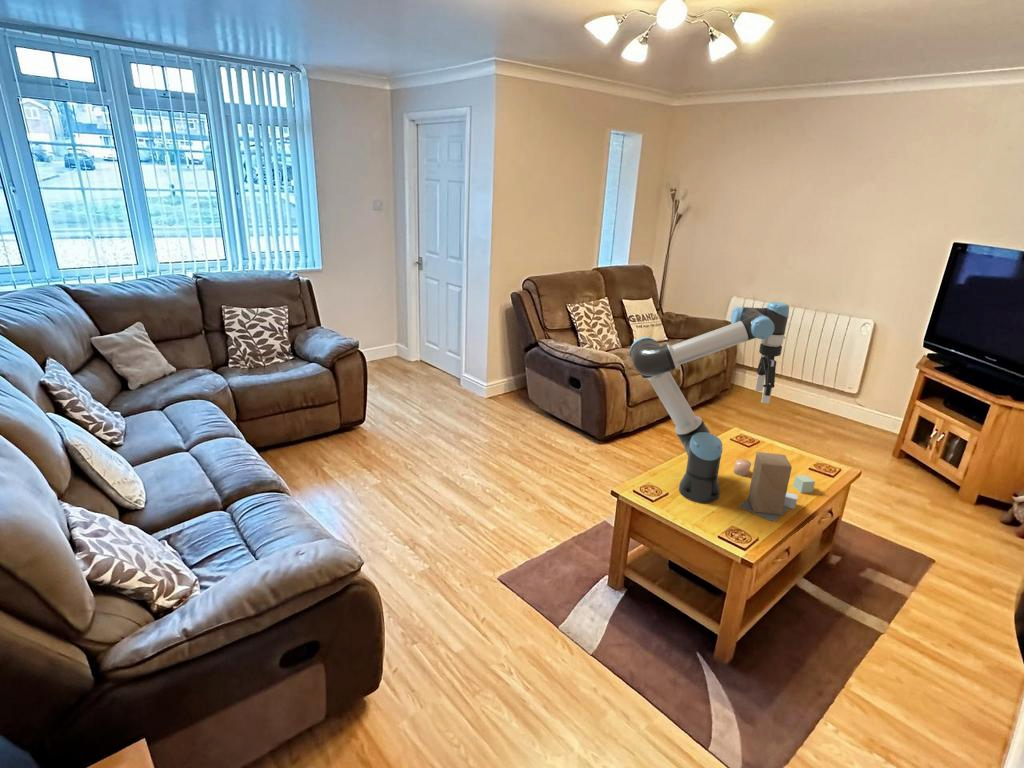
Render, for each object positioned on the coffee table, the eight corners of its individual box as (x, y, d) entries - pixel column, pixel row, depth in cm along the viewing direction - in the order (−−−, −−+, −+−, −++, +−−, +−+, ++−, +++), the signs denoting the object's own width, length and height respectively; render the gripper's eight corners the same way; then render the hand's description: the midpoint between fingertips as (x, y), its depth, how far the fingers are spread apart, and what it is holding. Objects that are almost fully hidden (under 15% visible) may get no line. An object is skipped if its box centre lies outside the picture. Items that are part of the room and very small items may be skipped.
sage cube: (800, 493, 214) (803, 481, 213) (793, 486, 219) (795, 475, 217) (812, 492, 215) (815, 481, 213) (804, 486, 220) (807, 475, 218)
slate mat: (773, 522, 195) (773, 520, 195) (738, 506, 204) (739, 505, 204) (788, 509, 203) (789, 507, 203) (755, 495, 212) (755, 493, 212)
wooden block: (781, 515, 198) (792, 466, 191) (752, 512, 200) (762, 463, 193) (775, 501, 207) (785, 454, 200) (747, 498, 209) (756, 451, 202)
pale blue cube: (783, 506, 205) (785, 496, 204) (784, 501, 208) (786, 492, 207) (794, 509, 203) (797, 499, 202) (795, 504, 207) (797, 495, 205)
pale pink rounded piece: (734, 475, 227) (736, 464, 225) (732, 468, 232) (734, 458, 231) (750, 477, 226) (752, 466, 224) (747, 470, 231) (749, 459, 230)
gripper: (790, 353, 192) (779, 409, 199) (775, 336, 215) (765, 387, 222) (767, 352, 193) (757, 407, 200) (754, 335, 216) (746, 385, 223)
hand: (761, 396), depth 211 cm, fingers open, 13 cm apart
